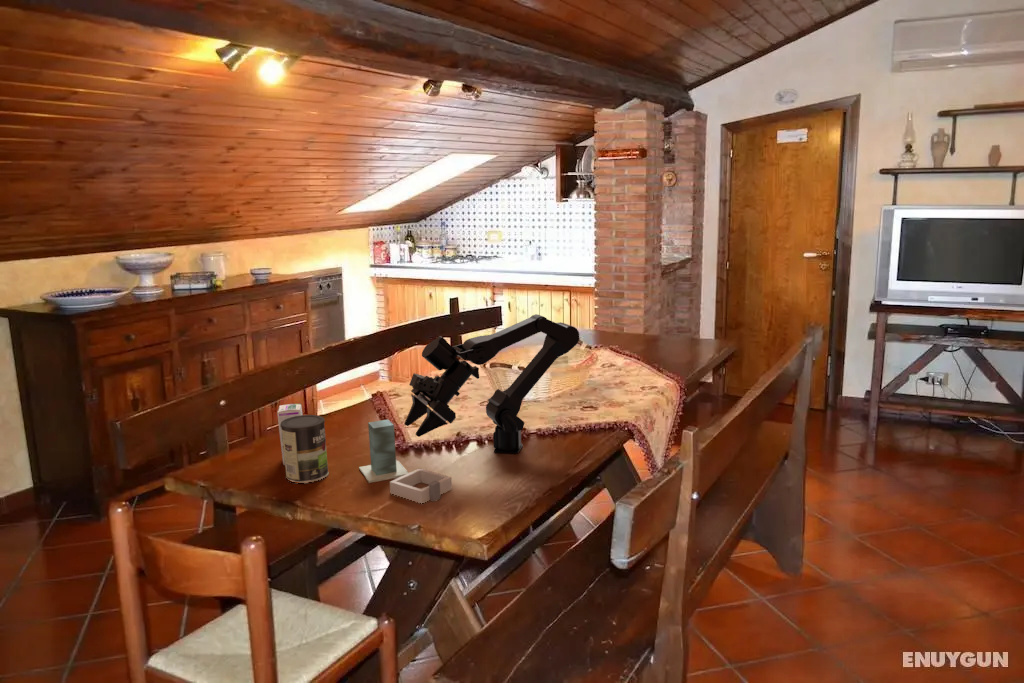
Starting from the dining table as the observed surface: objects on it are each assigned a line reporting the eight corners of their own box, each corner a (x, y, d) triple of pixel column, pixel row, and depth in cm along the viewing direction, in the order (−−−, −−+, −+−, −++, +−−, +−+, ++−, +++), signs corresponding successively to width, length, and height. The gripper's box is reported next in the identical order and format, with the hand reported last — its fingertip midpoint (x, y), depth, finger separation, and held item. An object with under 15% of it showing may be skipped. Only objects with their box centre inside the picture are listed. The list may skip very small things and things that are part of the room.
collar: (420, 479, 189) (419, 464, 188) (456, 490, 182) (455, 474, 181) (390, 494, 181) (389, 477, 180) (426, 505, 174) (425, 488, 174)
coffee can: (335, 468, 198) (331, 414, 194) (318, 485, 188) (313, 428, 185) (296, 467, 199) (291, 413, 196) (278, 483, 189) (272, 427, 186)
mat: (397, 461, 201) (397, 460, 201) (409, 475, 192) (409, 473, 192) (359, 468, 197) (359, 467, 197) (369, 482, 188) (369, 480, 188)
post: (390, 465, 198) (387, 419, 195) (396, 471, 193) (393, 425, 190) (371, 468, 196) (368, 422, 193) (376, 475, 191) (373, 428, 188)
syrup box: (306, 463, 202) (301, 409, 198) (282, 465, 200) (276, 411, 197) (307, 455, 207) (302, 402, 204) (283, 457, 206) (278, 404, 203)
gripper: (417, 354, 202) (377, 401, 200) (441, 370, 185) (398, 422, 184) (447, 379, 207) (409, 426, 205) (473, 397, 190) (432, 448, 188)
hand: (411, 430), depth 195 cm, fingers open, 9 cm apart
